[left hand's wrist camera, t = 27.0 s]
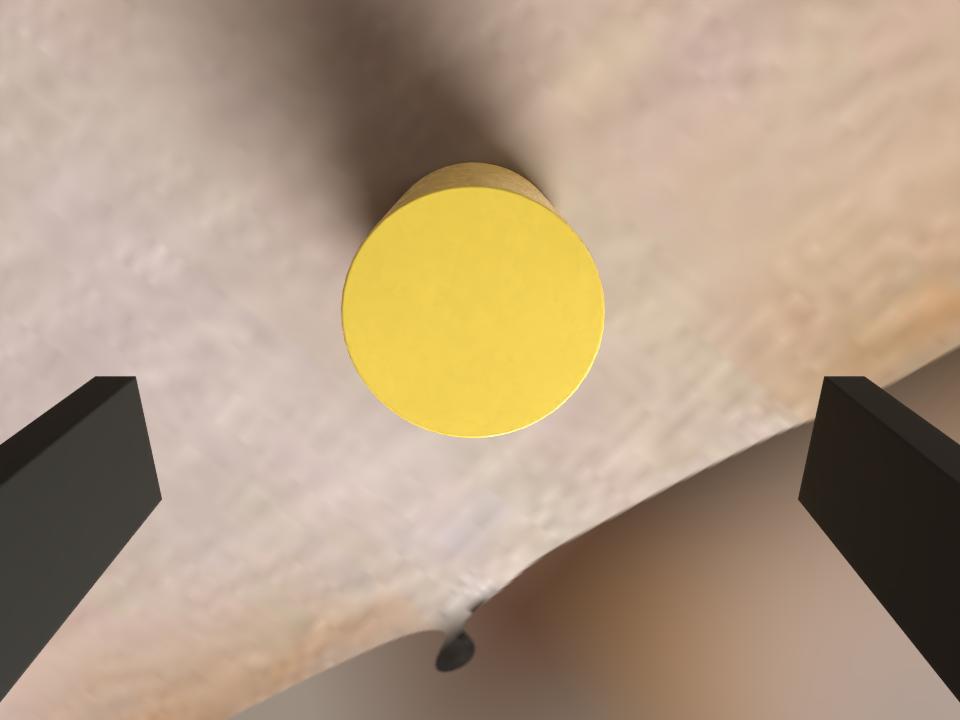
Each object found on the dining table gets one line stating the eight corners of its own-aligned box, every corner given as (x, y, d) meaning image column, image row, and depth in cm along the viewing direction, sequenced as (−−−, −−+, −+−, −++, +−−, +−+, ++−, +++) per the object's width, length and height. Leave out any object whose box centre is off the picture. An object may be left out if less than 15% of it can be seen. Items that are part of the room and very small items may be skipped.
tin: (402, 354, 33) (372, 455, 23) (364, 179, 30) (311, 210, 20) (573, 327, 33) (616, 418, 23) (552, 147, 30) (591, 162, 20)
